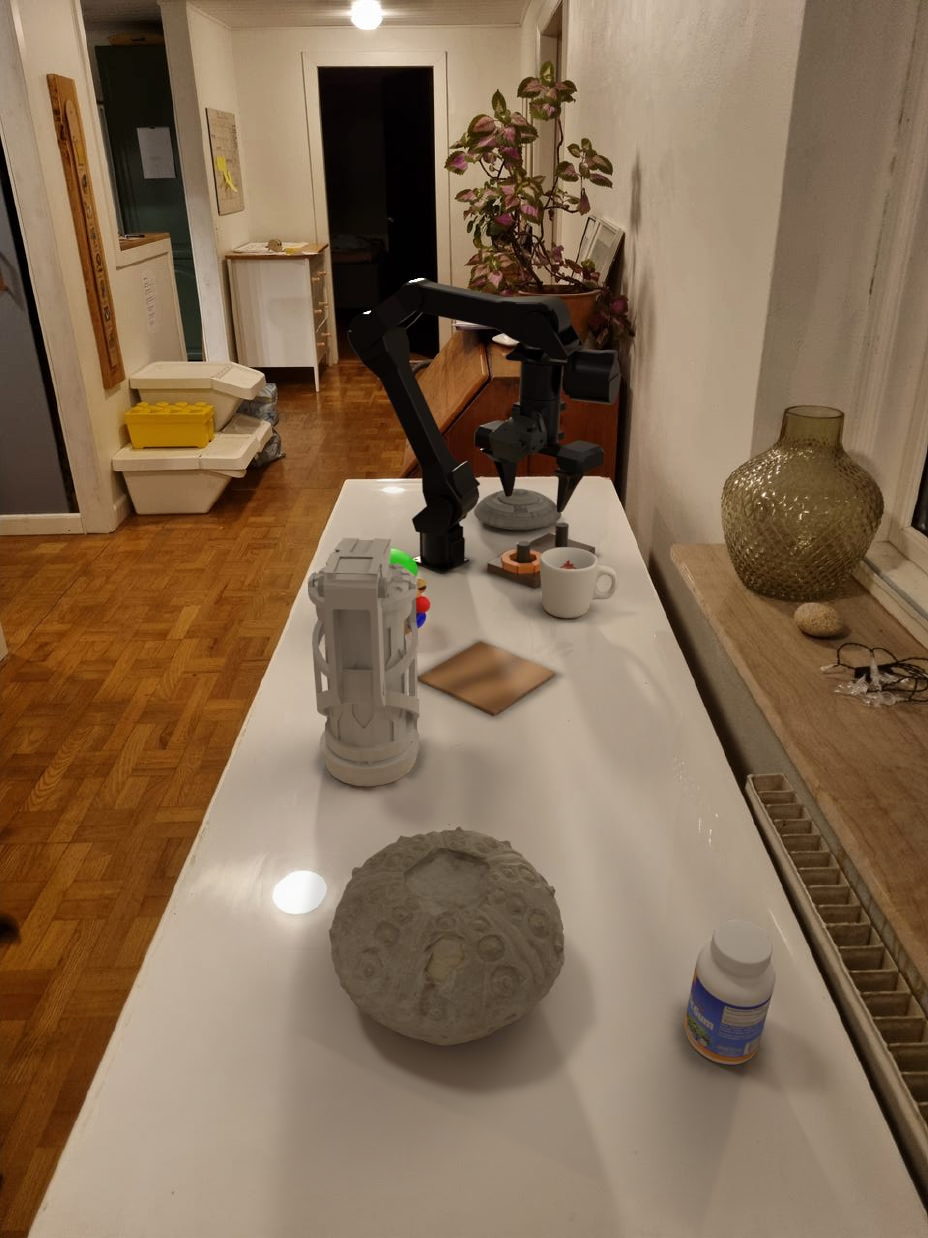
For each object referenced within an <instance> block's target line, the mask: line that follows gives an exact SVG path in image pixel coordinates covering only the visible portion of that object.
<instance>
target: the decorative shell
mask: <svg viewBox="0 0 928 1238" xmlns="http://www.w3.org/2000/svg"><path fill="white" fill-rule="evenodd" d="M556 891H557V890H556V889H555V887H554V885H550V884H549V882H548V881H547V880H546V878H545V877H544V876H543V875H542V874H541V872H539V871H537V868H536V867H534V866H533V864H532V863H531V862H530V861H529V860H527V859H526V858H525V857H524V856H523V854H522V853H520V852H519V851H517V850H516V849H514V848H513V847H512V844H511V841H509V840H507V839H506V840H501V841H500V840H498V839H496V838H495V837H493V836H491V835H488V834H484V833H481V832H477V831H474V830H465V829H463V827H462V826H457V827H456V828H454V829H443V830H441V831H438V832H437V831H434V830H433V831H430V832H427V833H425V834H423V833H417V834H415V835H413V836H406V835H405V836H404V835H400V836H399V837H398V839H397V841H395V842H393V843H389V844H387V845H386V846H385V847H383V848H382V849H381V850H379V851H377V852H376V853H375V854H373V855H371V856H370V857H368V858H367V859H366V860H365V862H364V863H363V864H362V866H360V867H353V869H352V871H351V879H350V880H349V881H348V882H347V883H346V885H345V888H344V890H343V893H342V896H341V898H340V900H339V902H338V904H337V906H336V908H335V911H334V917H333V920H332V923H331V927H330V928H329V929H328V934H329V940H330V944H331V953H330V954H331V962H332V963H333V967H334V971H335V973H336V975H337V977H338V979H339V986H340V987H341V988H342V990H344V991H345V993H346V994H347V996H348V997H349V998H350V1001H352V1002H353V1003H354V1004H355V1006H356V1007H357V1008H358V1010H360V1011H361V1012H362V1013H364V1014H367V1015H369V1016H370V1017H371V1018H372V1019H373V1020H375V1021H376V1022H378V1023H379V1024H381V1025H383V1026H385V1027H386V1028H389V1029H390V1030H392V1031H393V1032H396V1033H399V1034H400V1035H403V1036H406V1037H408V1038H410V1039H412V1040H422V1041H424V1042H427V1043H429V1044H432V1045H438V1046H452V1045H459V1044H465V1043H467V1042H470V1041H472V1040H480V1039H482V1038H484V1037H487V1036H489V1035H491V1034H493V1033H494V1032H497V1031H498V1030H500V1029H502V1028H503V1027H505V1026H508V1025H510V1024H512V1023H515V1022H517V1021H519V1020H520V1019H521V1018H522V1017H523V1016H524V1015H526V1014H527V1013H529V1012H530V1011H531V1010H532V1009H534V1008H535V1007H536V1006H537V1005H538V1004H539V1003H540V1002H541V1001H542V1000H543V999H544V998H546V996H547V995H548V994H549V992H550V991H551V989H552V987H553V986H554V984H555V982H556V980H557V978H558V977H559V975H560V974H561V970H562V968H563V966H564V964H565V963H564V962H565V935H564V924H563V920H562V915H561V909H560V907H559V904H558V901H557V900H556V897H555V894H556Z"/></svg>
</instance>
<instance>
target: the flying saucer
mask: <svg viewBox="0 0 928 1238" xmlns="http://www.w3.org/2000/svg"><path fill="white" fill-rule="evenodd" d="M473 514H474V516H475V518H476V519H477V520H479V521H481V522H482V523H484V524H486V525H488V526H490V527H492V528H493V527H494V528H498V529H502V530H509V531H531V530H538V529H542V528H546V527H549V526H552V525H554V524H555V523H556V522H559V520H560V519H561V517H562V512H560V513H558V512H557V503H556V502H554V500H552V499H551V498H550V497H548V496H546V495H544V494H543V493H540V492H538V491H534V490H530V489H525V488H514V489H513V493H512V496H510V497H506V496H505V493H504V490H503V489H502V490H499V491H495V492H493V493H490V494H488V495H487V496H485V497H484V498H482V499H481V500H480V501H479V502H477V504H476V506H475V507H474V508H473Z"/></svg>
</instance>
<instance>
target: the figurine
mask: <svg viewBox="0 0 928 1238" xmlns="http://www.w3.org/2000/svg"><path fill="white" fill-rule="evenodd" d="M413 559H414V558H412V557H411V556H410V555H409V554H408V553H406V552H405V551H402V550H401V549H398V548H391V558H390V564H393V565H394V563H398V564H401V565H402V566H403V568H405V569H408V570H409V571H410V572H411V573H412V574H414V575H415V576H417V594H416V623H417V627H418V629H420V628H421V627H422V626H423V625H424V624H425V622H426V620H427V612H428V611H429V610H430V609H431V601H430V599H429V598H428V597H426V596H424V595H423V593H424V592H425V591H426V590H427V588H428V587H427V581H426V580H425V579H424V578H422V577H418V574H419V568H418V564H416V562H415V560H413ZM409 634H411V630H410V627H409V625H408V623H407V622H406V620H405V636H406V635H409Z"/></svg>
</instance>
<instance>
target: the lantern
mask: <svg viewBox="0 0 928 1238" xmlns="http://www.w3.org/2000/svg"><path fill="white" fill-rule="evenodd" d="M391 540H392V539H391V538H374V539H360V538H359V537H343V538H342V539H341V540H340V541H339V543H337V545H336V546H335V548H334V551H333V552H332V553H330V554H329V555H328V557H327V560H326V562H325V566H324V567H322V568H320V569H319V570H318V572H317V571H314V572H312V573H310V575H309V577H308V579H307V594H308V599H309V600H310V601H311V602H312V604H313V605H314V606H315V613H316V617H317V621H316V623H315V625H314V628H313V631H312V635H311V636H312V637H311V639H312V640H311V645H312V646H311V648H312V659H313V661H312V662H313V672H314V686H315V696H316V697H315V700H316V711H317V713H319V714H320V715H321V716H324V717H326V721H325V723H324V731H323V732H322V734H321V735H320V738H319V748H320V752H321V756H322V760H323V763H324V765H325V767H326V769H327V771H328V773H329V774H330V775H332V777H333V778H335V779H336V780H339V782H341V783H344V784H348V785H351V786H355V787H368V788H369V787H376V786H384V785H387V784H391V783H394V782H396V781H398V780H400V779H401V778H403V777H404V776H406V775H408V774H409V773H410V771H411V770H412V768H413V767H414V766H415V763H416V760H417V757H418V753H419V751H420V742H421V739H420V738H421V737H420V733H419V730H418V719H419V718H420V699H419V698H418V646H419V628H418V627H417V623H416V594H417V578H418V575H417V576H415V575H414V574H412V573H411V572H410V571H409V570H408V569H405V568H403V566H402V565H401V564H398V563H394V565H393V564H390V558H391V549H392V545H391V544H392V543H391V542H392V541H391ZM405 620H406V622H407V623H408V625H409V627H410V630H411V632H410V634H411V640H410V644H409V647H408V648H407V639H406V635H405ZM323 637H324V654H325V655H324V656H325V658H324V657H323V654H322V652H321V649H320V644H321V642H322V639H323ZM407 671H408V672H407ZM322 675H323V676H325V677H326V682H327V690H323V681H322Z"/></svg>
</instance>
